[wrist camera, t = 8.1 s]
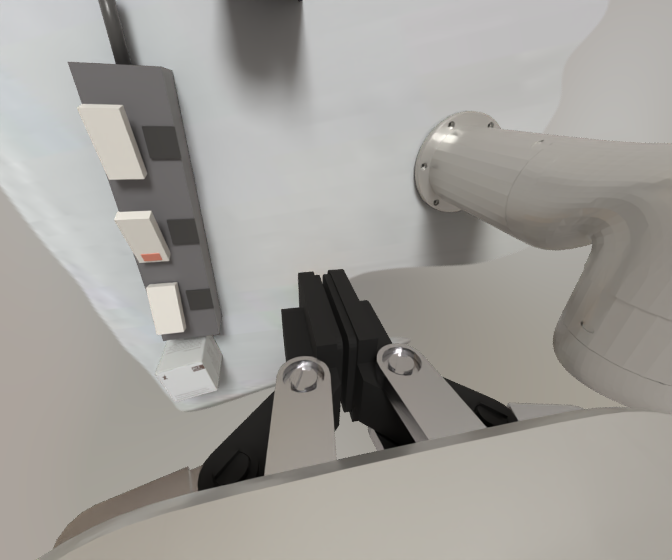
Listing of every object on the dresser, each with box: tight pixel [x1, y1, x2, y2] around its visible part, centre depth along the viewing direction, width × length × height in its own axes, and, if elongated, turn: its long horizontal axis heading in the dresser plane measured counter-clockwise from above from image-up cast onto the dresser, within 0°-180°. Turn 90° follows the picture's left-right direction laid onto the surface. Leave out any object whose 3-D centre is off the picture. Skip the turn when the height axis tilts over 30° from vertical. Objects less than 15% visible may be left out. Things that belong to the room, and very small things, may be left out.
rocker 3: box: [146, 282, 186, 335], centre depth 36 cm, size 3×6×1 cm, turn 178°
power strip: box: [68, 0, 222, 341], centre depth 33 cm, size 7×36×4 cm, turn 178°
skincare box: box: [155, 335, 222, 402], centre depth 43 cm, size 6×6×7 cm
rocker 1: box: [77, 104, 147, 180], centre depth 27 cm, size 3×6×1 cm, turn 178°
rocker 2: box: [114, 211, 170, 263], centre depth 31 cm, size 3×6×1 cm, turn 178°
